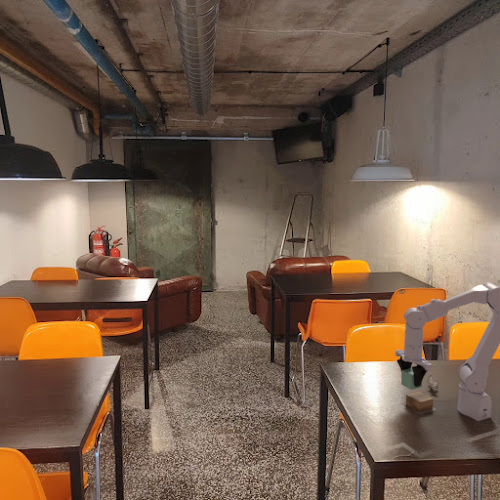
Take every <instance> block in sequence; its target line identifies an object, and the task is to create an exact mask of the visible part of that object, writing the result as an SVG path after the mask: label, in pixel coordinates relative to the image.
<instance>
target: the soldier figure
mask: <svg viewBox="0 0 500 500" xmlns="http://www.w3.org/2000/svg"><path fill="white" fill-rule="evenodd" d="M432 376H433V374H432V373H431V372H429V373H428V375H427V378H426V380H427V382H428V384H427V385H428V387H429V388H430V389H431V390H432V391H433V392H434V393H436V392H439V391H440V390H439V385H438V382H437V381H436V382H433V381H434V380H433V377H432Z"/></svg>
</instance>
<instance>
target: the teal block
mask: <svg viewBox="0 0 500 500" xmlns="http://www.w3.org/2000/svg"><path fill="white" fill-rule="evenodd" d="M400 380H401V382H400V384H401V385H402V386H404V387H406V388H408V389H409V390H411V391H414V390H417V389H420V388H422V387H423V382H422V383H421V386H419V387H415V386H414V373H413V370H412V367H411V368H410V369H405V370H402V372H401V379H400Z"/></svg>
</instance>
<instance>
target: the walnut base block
mask: <svg viewBox="0 0 500 500" xmlns="http://www.w3.org/2000/svg"><path fill="white" fill-rule="evenodd" d="M405 402H406V405H408V406H410V407H411V408H413V409H414V410H416V411H418V412H422V411H426V410H430V409H433V406H434V398H432V397H431V396H429V395H427V394H425V393H423V392H421V391H415V392H411V393H407V394H405Z"/></svg>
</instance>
